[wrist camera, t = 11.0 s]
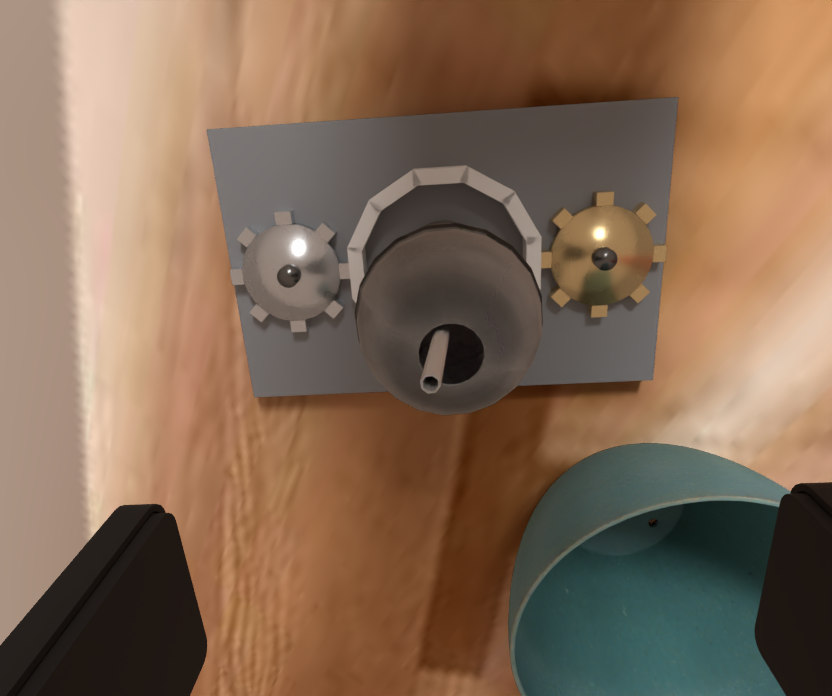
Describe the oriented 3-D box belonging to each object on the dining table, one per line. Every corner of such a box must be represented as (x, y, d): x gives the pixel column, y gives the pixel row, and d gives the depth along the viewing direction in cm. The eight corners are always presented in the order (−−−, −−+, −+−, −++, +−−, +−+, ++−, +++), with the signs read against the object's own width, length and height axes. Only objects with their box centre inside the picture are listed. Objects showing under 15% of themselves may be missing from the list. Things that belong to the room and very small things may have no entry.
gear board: (216, 129, 32) (195, 128, 29) (667, 99, 31) (690, 94, 28) (261, 387, 37) (246, 407, 34) (644, 370, 36) (661, 390, 33)
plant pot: (780, 554, 41) (916, 718, 29) (543, 631, 44) (582, 806, 32) (711, 340, 35) (846, 437, 24) (447, 446, 38) (452, 577, 27)
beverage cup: (424, 341, 34) (412, 585, 15) (356, 240, 32) (247, 379, 13) (529, 278, 33) (658, 464, 14) (465, 168, 31) (513, 211, 12)
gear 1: (225, 213, 32) (214, 217, 30) (347, 206, 32) (342, 209, 30) (245, 330, 34) (237, 339, 33) (359, 325, 34) (355, 333, 32)
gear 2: (537, 195, 31) (542, 197, 30) (666, 187, 31) (678, 189, 29) (535, 316, 33) (540, 324, 32) (655, 310, 33) (666, 318, 32)
